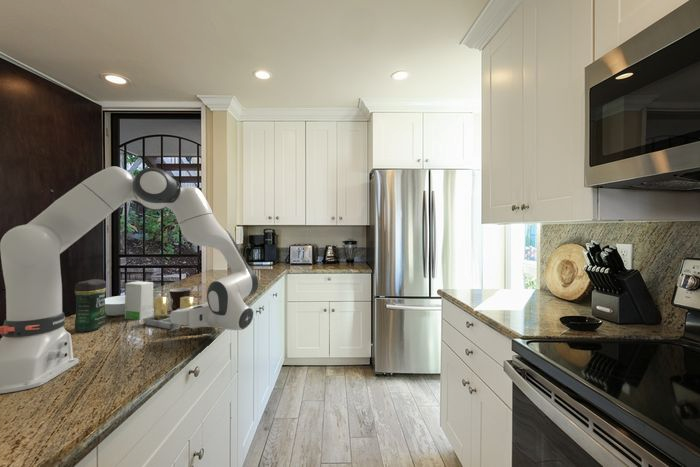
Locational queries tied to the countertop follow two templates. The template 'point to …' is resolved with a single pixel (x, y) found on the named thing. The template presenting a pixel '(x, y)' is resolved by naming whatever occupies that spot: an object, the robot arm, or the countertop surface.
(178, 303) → the coffee mug
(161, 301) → the billet
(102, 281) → the coffee jar
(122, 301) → the serving bowl
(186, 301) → the billet
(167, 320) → the grey tray
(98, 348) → the countertop surface
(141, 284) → the skincare box
